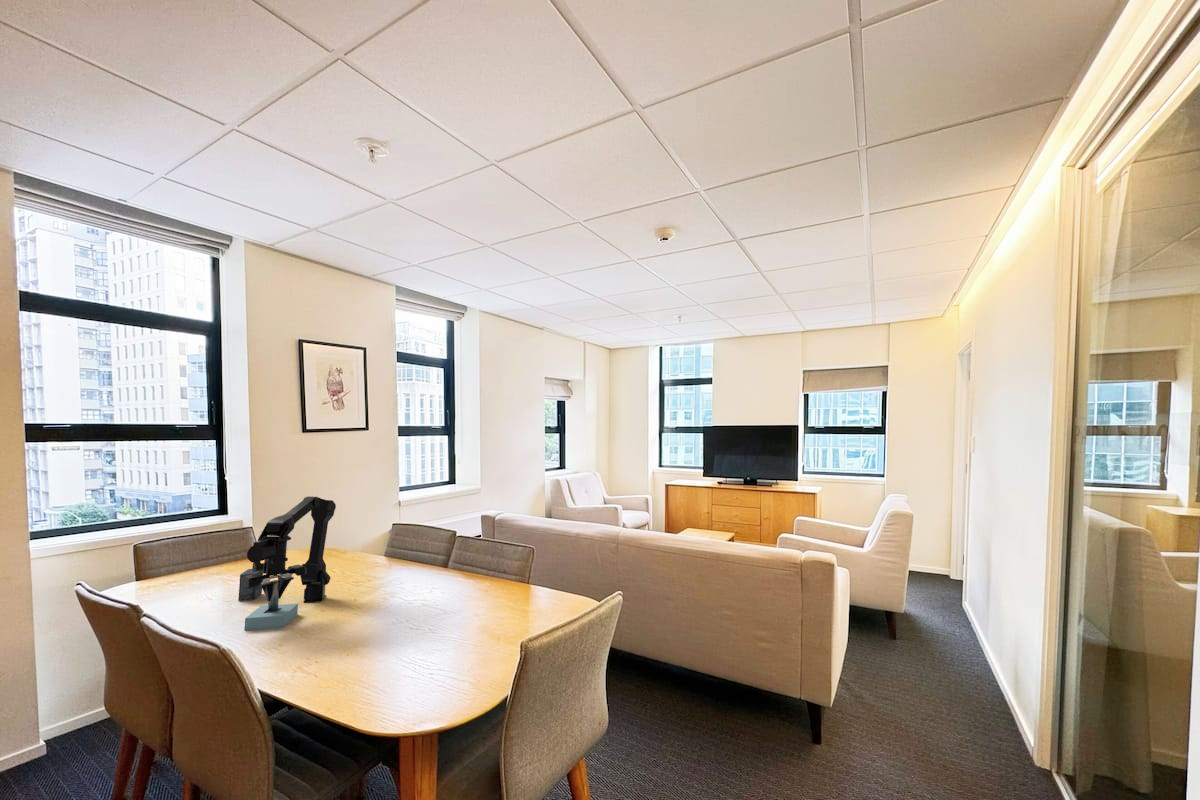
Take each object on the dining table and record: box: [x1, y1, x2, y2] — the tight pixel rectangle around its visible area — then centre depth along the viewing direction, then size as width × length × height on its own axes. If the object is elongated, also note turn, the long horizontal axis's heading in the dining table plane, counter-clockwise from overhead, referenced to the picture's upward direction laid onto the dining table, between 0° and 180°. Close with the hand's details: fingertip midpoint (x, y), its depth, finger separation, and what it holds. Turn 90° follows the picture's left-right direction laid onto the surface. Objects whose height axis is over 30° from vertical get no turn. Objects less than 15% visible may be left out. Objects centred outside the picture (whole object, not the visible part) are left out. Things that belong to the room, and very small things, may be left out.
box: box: [238, 568, 264, 602], centre depth 191 cm, size 8×6×11 cm
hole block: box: [243, 603, 299, 631], centre depth 167 cm, size 12×12×4 cm
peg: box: [267, 579, 280, 612], centre depth 167 cm, size 3×3×10 cm
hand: (273, 599), depth 167 cm, fingers closed on peg, 3 cm apart
